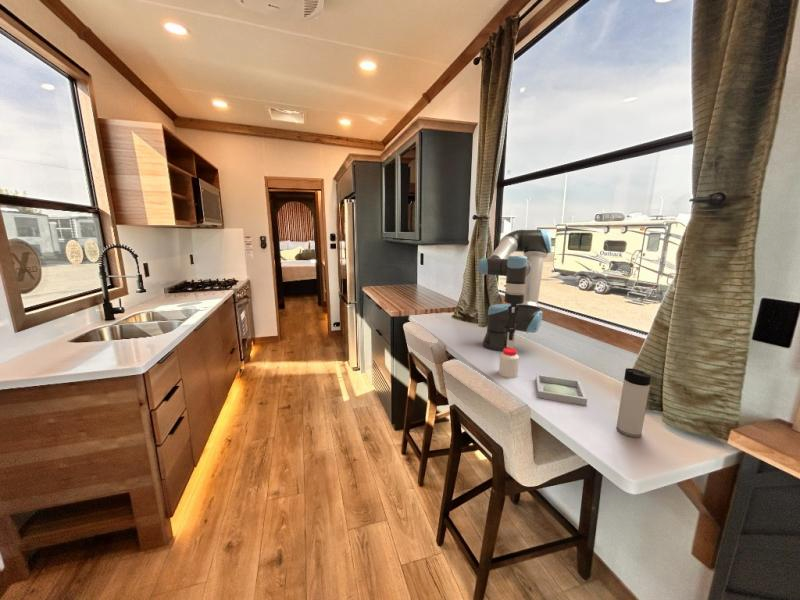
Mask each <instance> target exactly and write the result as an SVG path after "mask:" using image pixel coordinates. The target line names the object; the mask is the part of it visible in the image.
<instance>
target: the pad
mask: <svg viewBox="0 0 800 600" xmlns="http://www.w3.org/2000/svg"><path fill="white" fill-rule="evenodd" d="M542 389H543V391H547V392H553V393H560V394H566V395H572V396H576V393H575V391H574V390H573V389H572V388H569V386H568V387H567V386H566V385H560V384H553V383H548V384H546V385H544V386H543V388H542Z"/></svg>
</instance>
